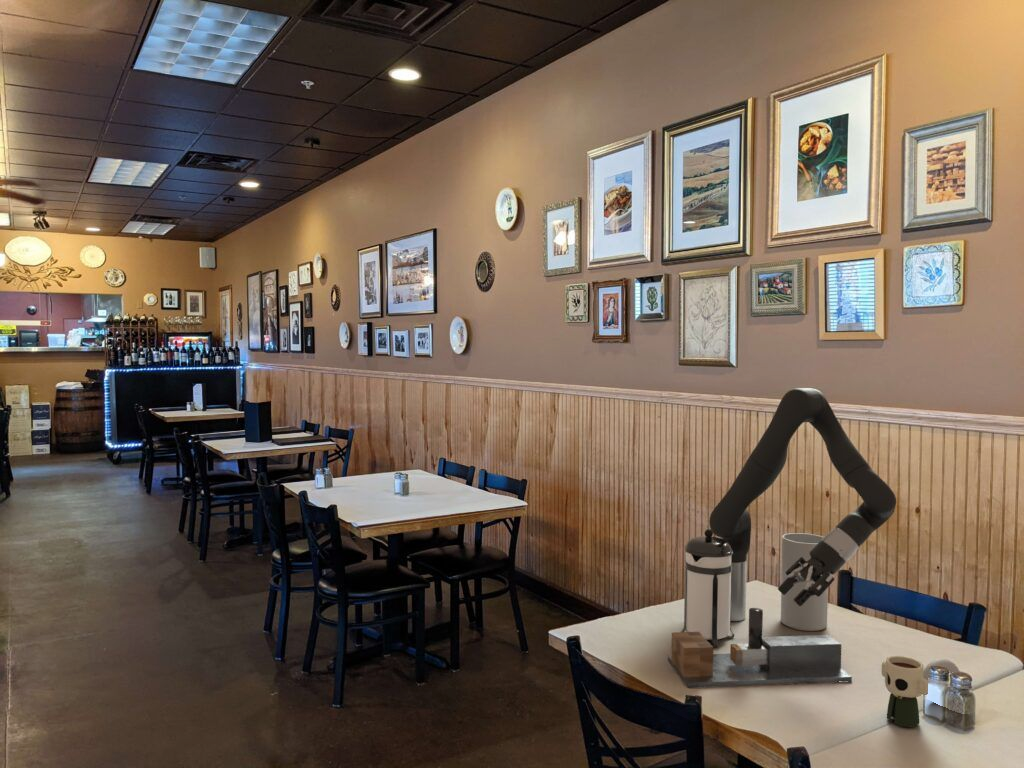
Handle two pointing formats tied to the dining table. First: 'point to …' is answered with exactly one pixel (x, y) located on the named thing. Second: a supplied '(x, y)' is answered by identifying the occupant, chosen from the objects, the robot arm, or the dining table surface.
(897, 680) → the character mug
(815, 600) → the cylinder vase
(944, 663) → the donut
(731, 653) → the slider
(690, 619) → the coffee press
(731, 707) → the dining table surface
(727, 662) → the grey base with blocks
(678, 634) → the brown wooden block
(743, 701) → the dining table surface
